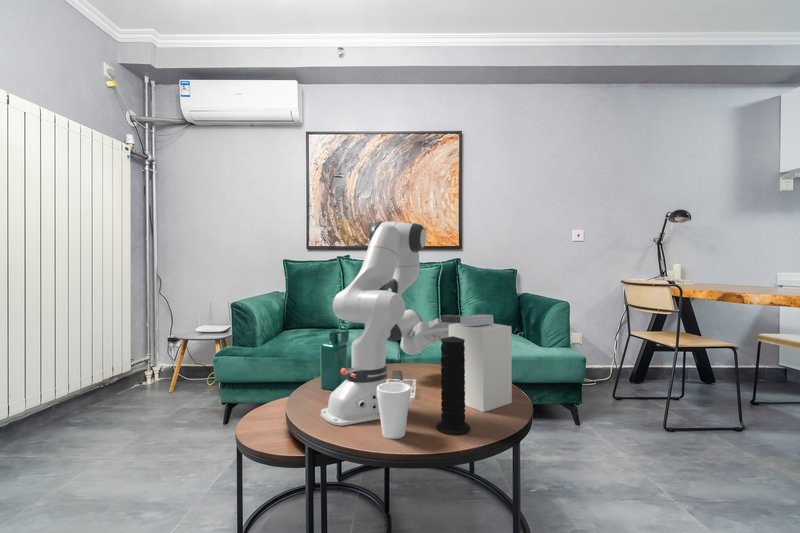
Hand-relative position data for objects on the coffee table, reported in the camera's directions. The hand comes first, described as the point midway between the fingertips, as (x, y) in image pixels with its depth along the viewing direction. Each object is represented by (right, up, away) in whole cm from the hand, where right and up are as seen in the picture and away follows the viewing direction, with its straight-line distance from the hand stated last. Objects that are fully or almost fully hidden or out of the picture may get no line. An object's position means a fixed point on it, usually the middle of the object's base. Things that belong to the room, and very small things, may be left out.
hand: (448, 319), depth 148 cm
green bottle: (-43, -27, +4) cm, 51 cm away
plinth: (+9, -26, -12) cm, 31 cm away
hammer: (+4, -1, -6) cm, 8 cm away
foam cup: (-20, -27, -38) cm, 51 cm away
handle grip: (-3, -27, -35) cm, 44 cm away
